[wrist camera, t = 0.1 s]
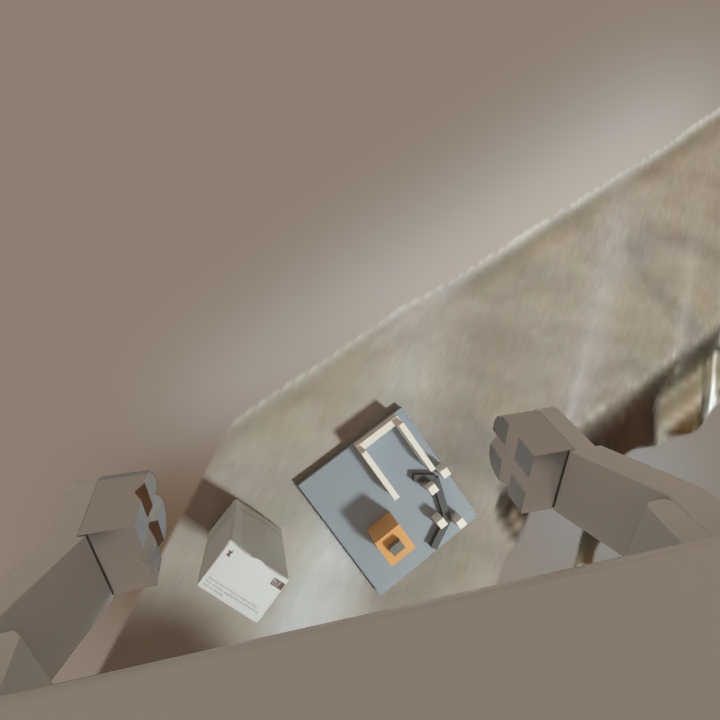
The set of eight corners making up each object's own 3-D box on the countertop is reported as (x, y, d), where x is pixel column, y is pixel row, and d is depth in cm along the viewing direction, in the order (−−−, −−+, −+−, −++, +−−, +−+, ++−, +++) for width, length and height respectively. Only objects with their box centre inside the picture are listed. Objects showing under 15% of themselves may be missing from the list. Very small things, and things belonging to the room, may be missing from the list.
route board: (474, 513, 70) (486, 523, 66) (379, 591, 68) (385, 606, 64) (399, 406, 68) (407, 410, 64) (297, 483, 65) (299, 492, 61)
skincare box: (208, 531, 63) (189, 585, 49) (237, 494, 64) (226, 537, 49) (258, 565, 64) (254, 628, 50) (286, 529, 65) (290, 581, 50)
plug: (405, 532, 67) (418, 550, 61) (383, 550, 67) (393, 570, 61) (389, 511, 67) (400, 526, 61) (367, 529, 66) (376, 546, 60)
